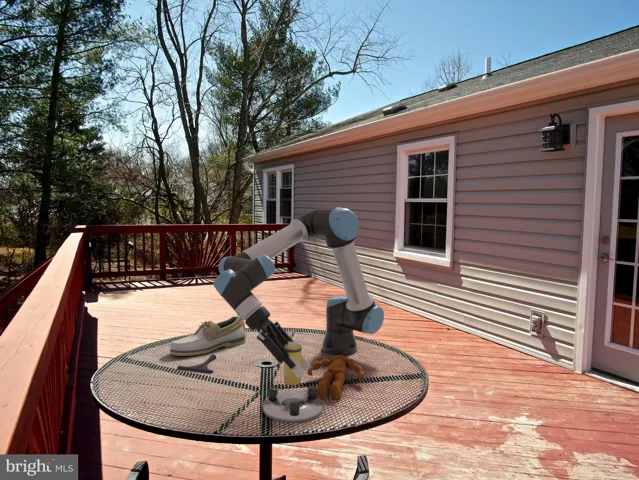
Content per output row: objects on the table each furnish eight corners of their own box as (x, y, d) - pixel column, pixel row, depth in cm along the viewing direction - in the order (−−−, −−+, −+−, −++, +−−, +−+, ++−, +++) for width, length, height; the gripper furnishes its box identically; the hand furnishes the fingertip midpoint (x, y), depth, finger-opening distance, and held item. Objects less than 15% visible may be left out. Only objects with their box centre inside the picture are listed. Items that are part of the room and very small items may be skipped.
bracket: (230, 362, 170) (230, 355, 170) (211, 375, 156) (211, 367, 156) (198, 358, 174) (198, 351, 174) (177, 371, 160) (177, 363, 160)
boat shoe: (162, 354, 177) (162, 325, 176) (233, 337, 203) (233, 311, 203) (179, 362, 168) (179, 331, 167) (250, 343, 194) (251, 316, 194)
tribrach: (319, 394, 139) (319, 381, 138) (326, 421, 121) (326, 405, 121) (263, 396, 137) (263, 382, 136) (262, 423, 119) (262, 407, 119)
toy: (359, 406, 134) (368, 368, 163) (359, 384, 133) (368, 351, 162) (297, 399, 138) (317, 364, 167) (297, 379, 137) (317, 347, 166)
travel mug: (300, 378, 131) (300, 339, 130) (301, 385, 126) (302, 344, 125) (283, 378, 130) (283, 340, 130) (283, 385, 125) (284, 345, 125)
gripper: (256, 314, 139) (304, 369, 137) (232, 328, 122) (286, 391, 119) (271, 299, 138) (320, 354, 135) (250, 311, 120) (305, 374, 118)
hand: (304, 371), depth 127 cm, fingers closed on travel mug, 5 cm apart
